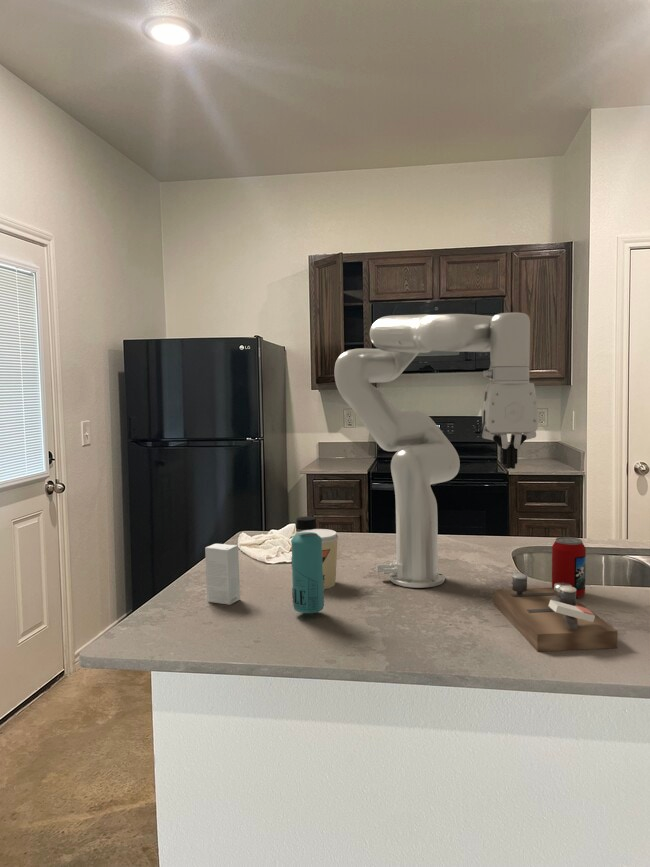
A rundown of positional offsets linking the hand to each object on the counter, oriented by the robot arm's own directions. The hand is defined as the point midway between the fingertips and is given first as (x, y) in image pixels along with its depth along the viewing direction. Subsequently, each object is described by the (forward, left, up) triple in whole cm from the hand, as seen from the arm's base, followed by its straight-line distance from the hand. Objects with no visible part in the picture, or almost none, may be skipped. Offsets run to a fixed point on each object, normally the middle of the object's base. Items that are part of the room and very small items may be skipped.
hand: (508, 467), depth 133 cm
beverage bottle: (-41, 0, -29) cm, 50 cm away
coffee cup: (-38, +20, -29) cm, 52 cm away
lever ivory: (+8, -11, -26) cm, 29 cm away
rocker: (+5, -19, -24) cm, 31 cm away
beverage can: (+15, +6, -29) cm, 33 cm away
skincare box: (-59, +11, -29) cm, 67 cm away
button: (+9, -7, -24) cm, 27 cm away
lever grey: (+2, -2, -26) cm, 26 cm away
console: (+5, -10, -29) cm, 31 cm away
